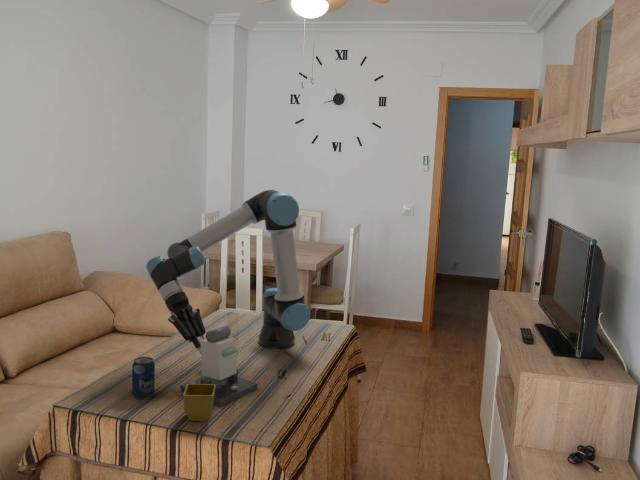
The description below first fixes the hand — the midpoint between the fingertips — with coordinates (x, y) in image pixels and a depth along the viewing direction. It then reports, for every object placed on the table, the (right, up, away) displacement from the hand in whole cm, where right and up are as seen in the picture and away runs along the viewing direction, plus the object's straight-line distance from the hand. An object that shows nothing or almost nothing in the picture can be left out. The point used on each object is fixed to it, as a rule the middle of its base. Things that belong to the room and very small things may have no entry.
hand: (206, 354), depth 201 cm
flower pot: (+2, -15, -21) cm, 26 cm away
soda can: (-19, -12, -8) cm, 24 cm away
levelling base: (+5, -12, -1) cm, 13 cm away
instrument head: (+5, -8, -2) cm, 10 cm away
